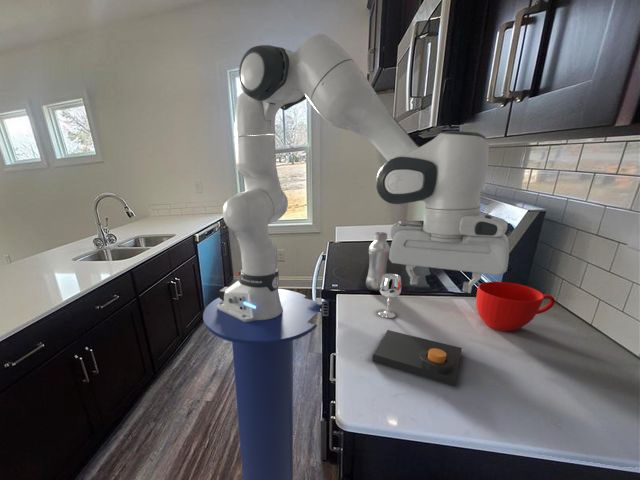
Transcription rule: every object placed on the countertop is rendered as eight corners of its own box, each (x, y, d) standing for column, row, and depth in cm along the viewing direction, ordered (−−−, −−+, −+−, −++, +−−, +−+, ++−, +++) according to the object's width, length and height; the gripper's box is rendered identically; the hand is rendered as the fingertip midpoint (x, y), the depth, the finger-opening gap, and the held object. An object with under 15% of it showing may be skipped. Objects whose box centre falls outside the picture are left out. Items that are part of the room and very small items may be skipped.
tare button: (426, 360, 67) (427, 353, 66) (428, 353, 69) (430, 346, 68) (444, 365, 65) (445, 358, 64) (445, 358, 67) (447, 351, 67)
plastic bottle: (383, 295, 106) (389, 236, 99) (362, 291, 110) (367, 234, 103) (388, 288, 111) (394, 232, 103) (368, 285, 115) (373, 230, 107)
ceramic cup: (564, 339, 76) (578, 302, 73) (485, 337, 79) (495, 300, 76) (528, 315, 88) (539, 281, 84) (461, 313, 91) (468, 281, 87)
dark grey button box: (371, 361, 73) (373, 348, 72) (386, 336, 82) (388, 324, 81) (454, 386, 64) (457, 372, 62) (460, 354, 73) (463, 341, 72)
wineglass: (395, 320, 89) (400, 281, 85) (374, 316, 93) (378, 277, 88) (399, 312, 94) (405, 274, 89) (379, 308, 97) (383, 271, 93)
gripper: (387, 222, 65) (382, 284, 70) (517, 227, 53) (500, 302, 58) (396, 217, 70) (390, 276, 75) (517, 221, 58) (500, 291, 62)
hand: (439, 287), depth 66 cm, fingers open, 8 cm apart
